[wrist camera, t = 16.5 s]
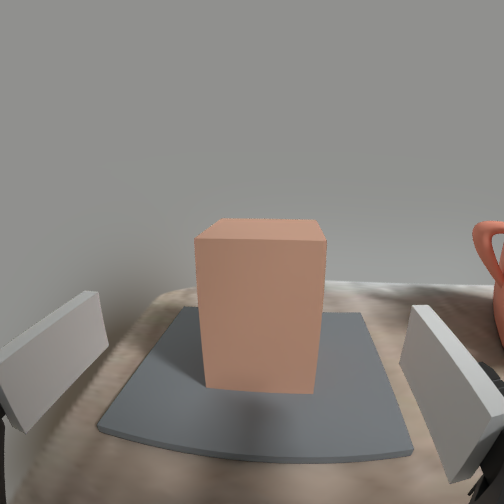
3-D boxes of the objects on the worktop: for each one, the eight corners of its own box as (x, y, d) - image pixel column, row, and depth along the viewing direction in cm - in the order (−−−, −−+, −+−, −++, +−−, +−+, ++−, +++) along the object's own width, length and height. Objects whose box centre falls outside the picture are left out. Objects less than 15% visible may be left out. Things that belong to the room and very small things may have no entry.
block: (309, 340, 25) (316, 219, 23) (313, 394, 19) (326, 240, 16) (225, 336, 26) (221, 218, 24) (206, 387, 19) (194, 238, 17)
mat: (359, 317, 30) (360, 312, 30) (410, 455, 13) (414, 448, 13) (184, 311, 32) (184, 306, 32) (99, 431, 15) (96, 424, 15)
